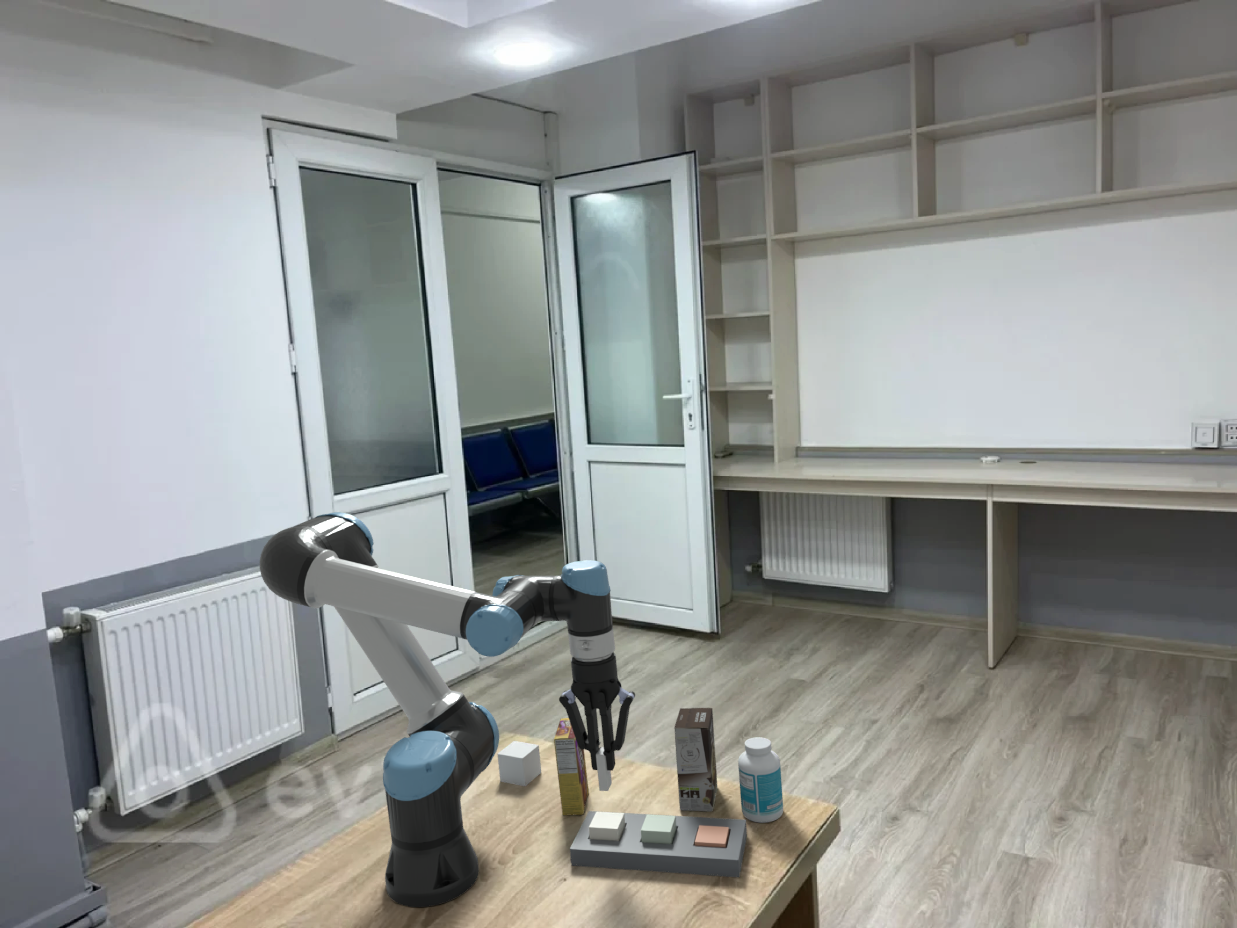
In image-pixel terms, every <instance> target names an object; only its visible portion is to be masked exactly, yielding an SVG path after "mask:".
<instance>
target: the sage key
mask: <svg viewBox="0 0 1237 928" xmlns="http://www.w3.org/2000/svg"><path fill="white" fill-rule="evenodd" d="M646 814H647V815H646V818H645V821H644V823H643V826H642V828H641V840H642V843H658V844H673V841H674V838H675V835H676V832H677V829H676V816H677V815H671V816H666V815H667V814H653V815H649V813H646Z"/></svg>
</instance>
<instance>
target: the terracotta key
mask: <svg viewBox="0 0 1237 928" xmlns="http://www.w3.org/2000/svg"><path fill="white" fill-rule="evenodd" d="M728 841H729V827H718V826H701V825H699V829H698V832H697V836H696V839H695V846H706V847H721V848H727V845H728Z"/></svg>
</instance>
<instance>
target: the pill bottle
mask: <svg viewBox="0 0 1237 928" xmlns="http://www.w3.org/2000/svg"><path fill="white" fill-rule="evenodd" d="M772 748H773V746H772V741H771V740H770V739H768V738H767V737H766V738H765V737H761V736H760V737H759V736H758V737H757V736H755V737H750V738H748V739H746V740H745V741H744V751H743V752H742V753H741V754H740V755H739V757H738V760H737V763H738V779H739V792H740V793H739V794H740V795H739V796H740V804H741V805H740V806H741V813H742V815H743V816H744V817H745V818H746V819H747V820H749V821H750V822H754V823H762V824H764V823H771V822H774V821H776V820H778V819H780V818H781V817H782V816H783V812H784V799H783V798H784V797H783V787H782V785H783V784H782V783H783V782H782V772H781V771H782V768H781V759H780V756H779V755H778V754H777V753H776V752H775V751H774V750H773V749H772Z"/></svg>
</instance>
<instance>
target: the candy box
mask: <svg viewBox="0 0 1237 928" xmlns="http://www.w3.org/2000/svg"><path fill="white" fill-rule="evenodd" d="M553 743H554V753H555V762H556V770H557V779H558V780H557V781H558V789H559V797H560V804H561V813H562V816H582V815H583V816H584V812H585V809H586V805H587V799H588V796H589V795H588V794H589V791H590V789H589V782H588V775H587V774H588V773H587V772H588V771H587V764H586V763H587V762H586V756H585V749H584V750H581V749H580V748H579V747H578V744H577V741H576V738H575V735H574V732H573V729H572V726H571V723H570V720H569V717H564V718H560V720H559V723H558V726H557V729H556V732H555V734H554V738H553Z"/></svg>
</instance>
